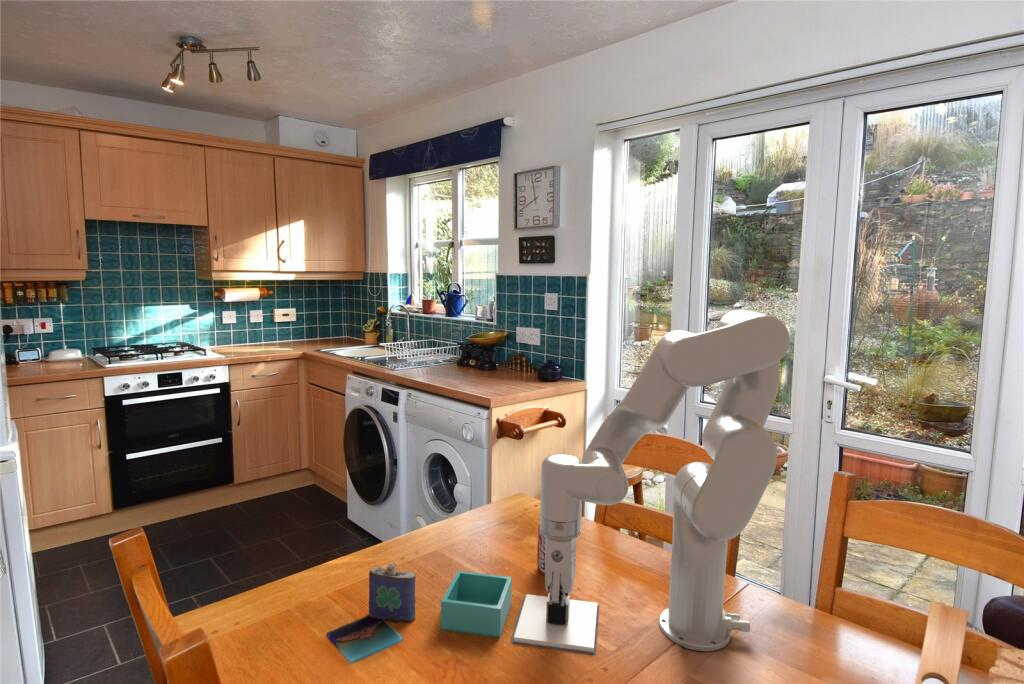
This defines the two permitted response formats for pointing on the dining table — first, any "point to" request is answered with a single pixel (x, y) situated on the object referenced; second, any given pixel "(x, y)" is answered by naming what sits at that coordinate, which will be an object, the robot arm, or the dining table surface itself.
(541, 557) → the soda can
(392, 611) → the flask
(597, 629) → the mat
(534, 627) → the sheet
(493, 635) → the teal open box
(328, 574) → the dining table surface
